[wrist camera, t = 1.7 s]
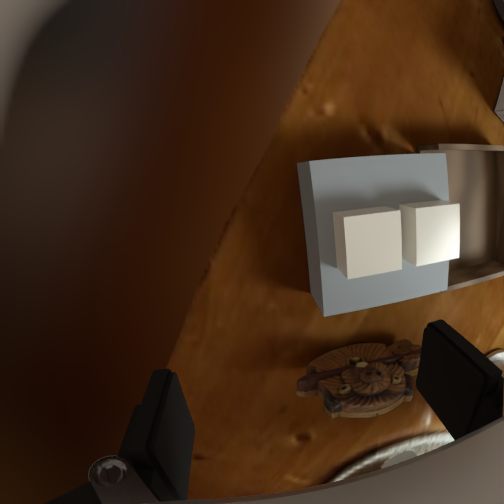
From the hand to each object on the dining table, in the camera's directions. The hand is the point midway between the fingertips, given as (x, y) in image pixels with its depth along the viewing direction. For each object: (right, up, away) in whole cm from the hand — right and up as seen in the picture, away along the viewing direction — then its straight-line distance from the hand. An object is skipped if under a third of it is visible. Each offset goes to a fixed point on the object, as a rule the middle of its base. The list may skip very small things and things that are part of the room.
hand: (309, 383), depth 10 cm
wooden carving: (+11, -8, +26) cm, 30 cm away
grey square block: (+10, +8, +22) cm, 26 cm away
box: (+24, +10, +22) cm, 34 cm away
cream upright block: (+8, +6, +16) cm, 19 cm away
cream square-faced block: (+14, +7, +16) cm, 23 cm away
